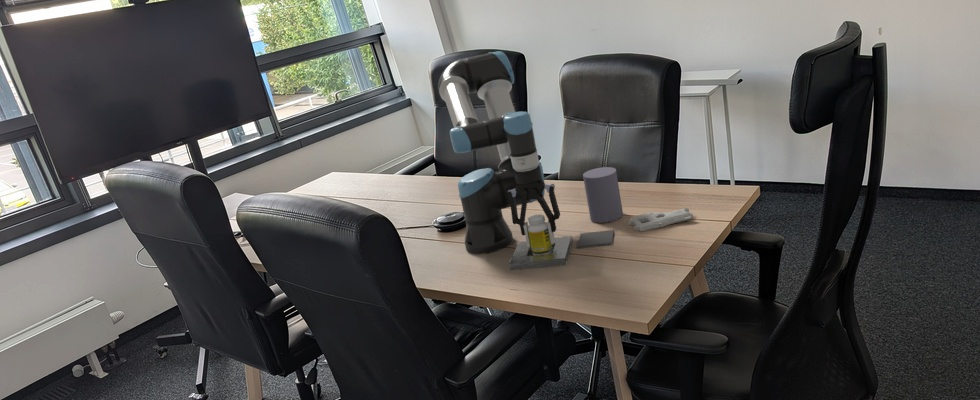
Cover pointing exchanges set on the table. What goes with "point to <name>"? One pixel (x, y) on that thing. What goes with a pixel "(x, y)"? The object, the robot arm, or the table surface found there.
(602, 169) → the container
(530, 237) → the pill bottle
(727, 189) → the table surface
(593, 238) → the rubber mat
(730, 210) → the table surface
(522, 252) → the housing plate
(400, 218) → the table surface
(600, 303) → the table surface
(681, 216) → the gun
